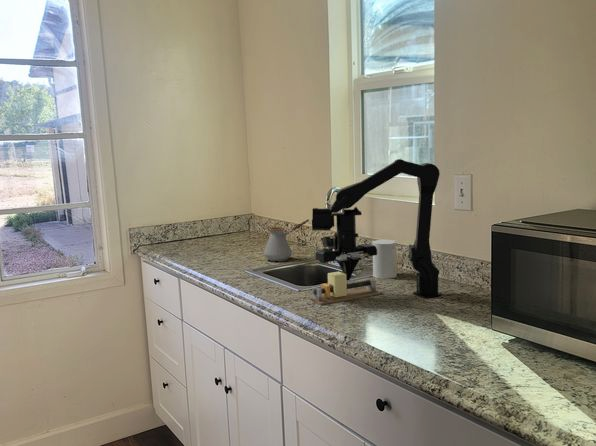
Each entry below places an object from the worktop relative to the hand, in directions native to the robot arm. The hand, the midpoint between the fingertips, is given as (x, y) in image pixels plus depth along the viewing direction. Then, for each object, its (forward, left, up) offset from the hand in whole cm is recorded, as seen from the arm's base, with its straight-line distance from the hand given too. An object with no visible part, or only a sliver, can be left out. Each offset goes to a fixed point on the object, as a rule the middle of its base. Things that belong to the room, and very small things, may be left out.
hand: (347, 280), depth 174 cm
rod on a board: (0, +1, -5) cm, 5 cm away
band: (0, +8, -4) cm, 8 cm away
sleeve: (0, +4, -5) cm, 6 cm away
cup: (+15, -24, -5) cm, 29 cm away
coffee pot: (+62, -9, -5) cm, 63 cm away
